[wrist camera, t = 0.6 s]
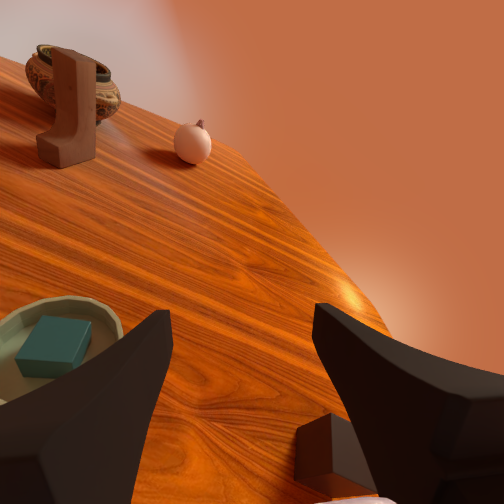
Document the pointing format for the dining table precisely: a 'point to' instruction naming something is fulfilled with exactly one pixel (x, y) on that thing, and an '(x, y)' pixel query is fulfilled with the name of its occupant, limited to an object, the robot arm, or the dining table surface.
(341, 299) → the dining table surface
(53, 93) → the ceramic bowl
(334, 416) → the dark brown block
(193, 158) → the ornament
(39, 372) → the teal block
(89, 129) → the wooden block
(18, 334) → the dish
